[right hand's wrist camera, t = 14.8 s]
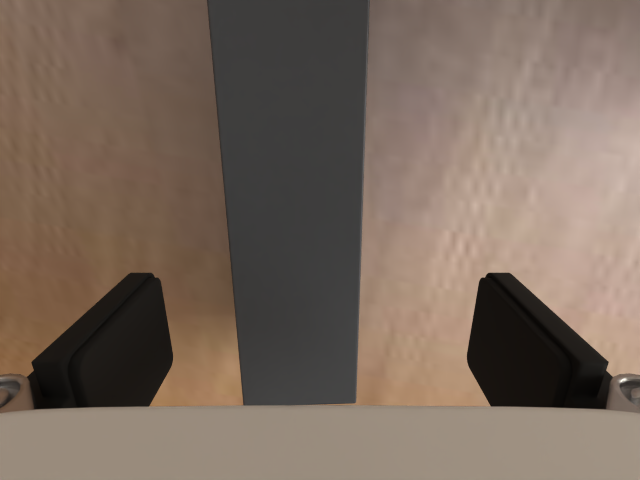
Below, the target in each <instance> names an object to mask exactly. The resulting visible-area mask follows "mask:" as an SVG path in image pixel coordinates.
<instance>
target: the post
mask: <svg viewBox="0 0 640 480" xmlns="http://www.w3.org/2000/svg"><path fill="white" fill-rule="evenodd" d="M207 4H208V15H209V26H210V37H211V48H212V60H213V71H214V82H215V93H216V104H217V115H218V126H219V137H220V149H221V160H222V171H223V182H224V193H225V204H226V215H227V227H228V238H229V249H230V260H231V271H232V282H233V293H234V304H235V316H236V327H237V338H238V349H239V360H240V371H241V382H242V394H243V405H244V406H254V405H316V404H345V403H356V389H357V359H358V330H359V300H360V271H361V241H362V211H363V182H364V152H365V123H366V93H367V63H368V34H369V4H370V0H207Z"/></svg>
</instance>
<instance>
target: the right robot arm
mask: <svg viewBox="0 0 640 480" xmlns="http://www.w3.org/2000/svg"><path fill="white" fill-rule="evenodd" d="M172 362H173V352H172V346H171V340H170V334H169V328H168V322H167V316H166V310H165V304H164V298H163V292H162V286H161V281H160V279H159V278H155V277H154V275H153V274H152V273H130V274H128V275H127V276H126V277H125V278H124V279H123V280H122V281H121V282H119V283H118V284H117V285H116V286H115V287H114V288H113V289H112V290H111V291H109V292H108V293H107V294H106V295H105V296H104V297H103V298H102V299H101V300H100V301H98V302H97V303H96V304H95V305H94V306H93V307H92V308H91V309H90V310H88V311H87V312H86V313H85V314H84V315H83V316H82V317H81V318H80V319H79V320H77V321H76V322H75V323H74V324H73V325H72V326H71V327H70V328H69V329H67V330H66V331H65V332H64V333H63V334H62V335H61V336H60V337H59V338H58V339H56V340H55V341H54V342H53V343H52V344H51V345H50V346H49V347H48V348H46V349H45V350H44V351H43V352H42V353H41V354H40V355H39V356H38V357H36V358H35V359H34V360H33V361H32V362H31V363H32V366H33V369H34V371H33V372H32V373H31V374H30V375H29V376H28V377H26V376H23V375H21V374H4V375H0V480H640V375H636V374H619V375H617V376H614V377H612V376H611V375H610V374H609V373H608V372H607V371H606V369H607V366H608V363H609V362H608V361H607V360H606V359H605V358H604V357H602V356H601V355H600V354H599V353H598V352H597V351H596V350H595V349H594V348H592V347H591V346H590V345H589V344H588V343H587V342H586V341H585V340H584V339H582V338H581V337H580V336H579V335H578V334H577V333H576V332H575V331H574V330H573V329H571V328H570V327H569V326H568V325H567V324H566V323H565V322H564V321H563V320H561V319H560V318H559V317H558V316H557V315H556V314H555V313H554V312H553V311H552V310H550V309H549V308H548V307H547V306H546V305H545V304H544V303H543V302H542V301H540V300H539V299H538V298H537V297H536V296H535V295H534V294H533V293H532V292H531V291H529V290H528V289H527V288H526V287H525V286H524V285H523V284H522V283H521V282H519V281H518V280H517V279H516V278H515V277H514V276H513V275H512V274H510V273H488V274H487V275H486V277H485V278H481V279H480V281H479V286H478V292H477V298H476V304H475V310H474V316H473V322H472V328H471V334H470V340H469V346H468V352H467V362H468V366H469V368H470V370H471V372H472V373H473V375H474V377H475V379H476V380H477V382H478V384H479V386H480V388H481V389H482V391H483V393H484V395H485V397H486V398H487V400H488V402H489V404H490V405H491V407H486V406H376V405H254V406H159V407H149V405H150V404H151V402H152V400H153V398H154V397H155V395H156V393H157V391H158V389H159V388H160V386H161V384H162V382H163V380H164V379H165V377H166V375H167V373H168V372H169V370H170V368H171V366H172Z"/></svg>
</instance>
